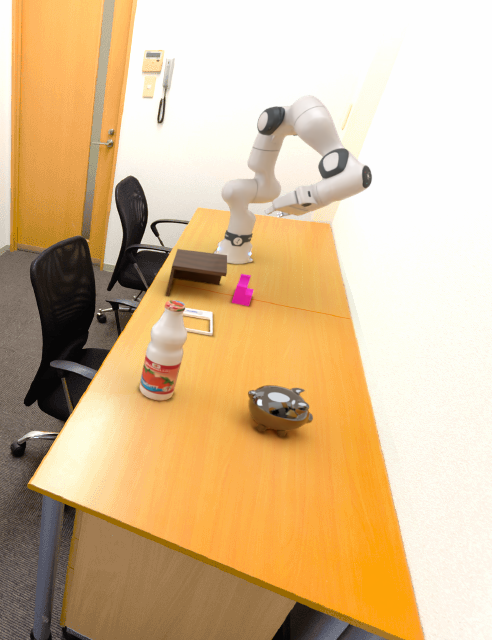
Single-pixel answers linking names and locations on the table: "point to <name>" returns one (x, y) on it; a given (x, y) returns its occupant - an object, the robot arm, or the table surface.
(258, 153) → the robot arm
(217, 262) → the shelf
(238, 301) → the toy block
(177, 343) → the fruit juice
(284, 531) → the table surface
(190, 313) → the photo frame
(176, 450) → the table surface
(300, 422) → the piggy bank
